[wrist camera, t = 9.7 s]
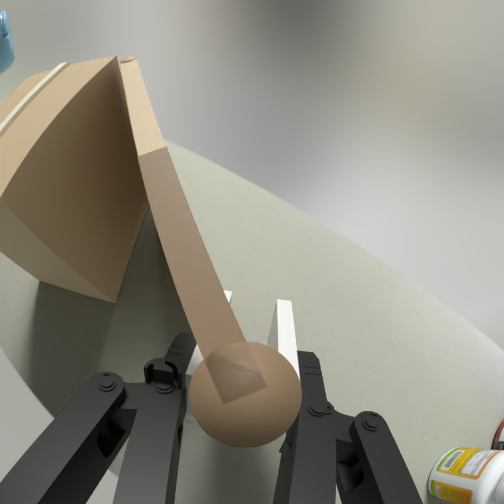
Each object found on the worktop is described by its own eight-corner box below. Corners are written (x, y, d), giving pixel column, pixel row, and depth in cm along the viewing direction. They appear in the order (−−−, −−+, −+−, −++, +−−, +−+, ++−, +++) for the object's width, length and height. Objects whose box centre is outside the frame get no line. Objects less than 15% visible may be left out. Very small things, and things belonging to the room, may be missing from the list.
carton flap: (149, 189, 24) (108, 58, 12) (173, 180, 25) (145, 46, 12) (229, 405, 17) (217, 462, 5) (261, 391, 17) (319, 418, 5)
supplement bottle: (453, 493, 12) (521, 507, 4) (417, 498, 13) (489, 523, 4) (472, 445, 15) (544, 446, 6) (438, 446, 15) (519, 454, 6)
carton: (81, 184, 25) (26, 74, 12) (155, 190, 25) (115, 51, 12) (39, 280, 20) (-65, 190, 7) (115, 303, 20) (-4, 193, 7)
